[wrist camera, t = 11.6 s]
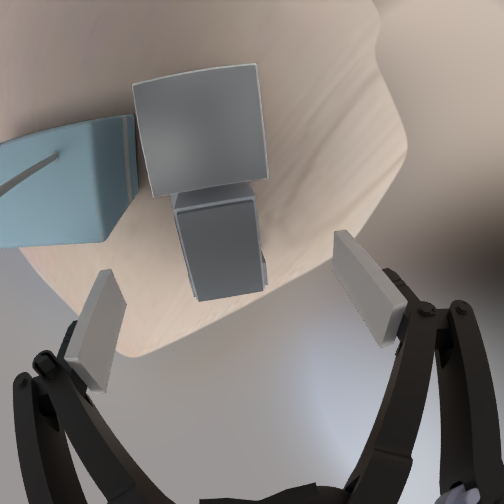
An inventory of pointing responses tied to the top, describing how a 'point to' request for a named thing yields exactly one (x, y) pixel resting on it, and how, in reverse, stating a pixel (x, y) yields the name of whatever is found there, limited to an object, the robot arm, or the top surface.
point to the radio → (67, 182)
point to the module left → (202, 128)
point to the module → (220, 240)
